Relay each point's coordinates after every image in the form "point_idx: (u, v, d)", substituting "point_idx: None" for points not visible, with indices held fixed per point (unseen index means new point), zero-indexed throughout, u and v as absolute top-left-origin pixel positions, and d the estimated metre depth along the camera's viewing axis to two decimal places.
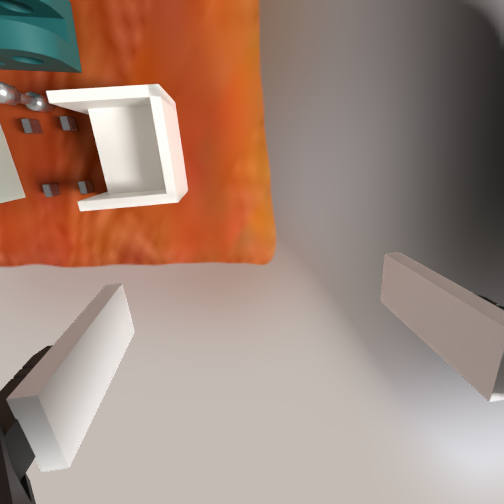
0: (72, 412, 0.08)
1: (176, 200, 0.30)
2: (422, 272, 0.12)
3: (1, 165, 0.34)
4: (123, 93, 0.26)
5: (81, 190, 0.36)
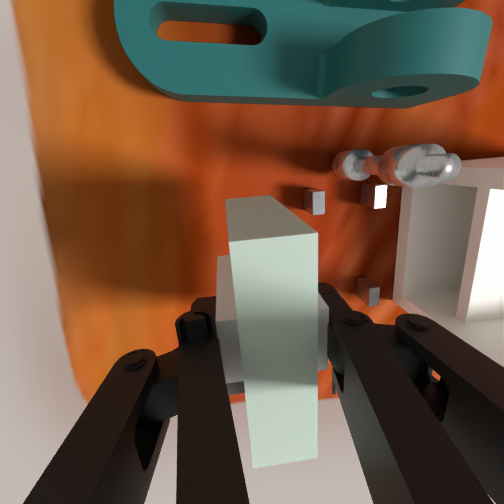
0: None
1: None
2: None
3: None
4: None
5: (371, 301, 0.21)
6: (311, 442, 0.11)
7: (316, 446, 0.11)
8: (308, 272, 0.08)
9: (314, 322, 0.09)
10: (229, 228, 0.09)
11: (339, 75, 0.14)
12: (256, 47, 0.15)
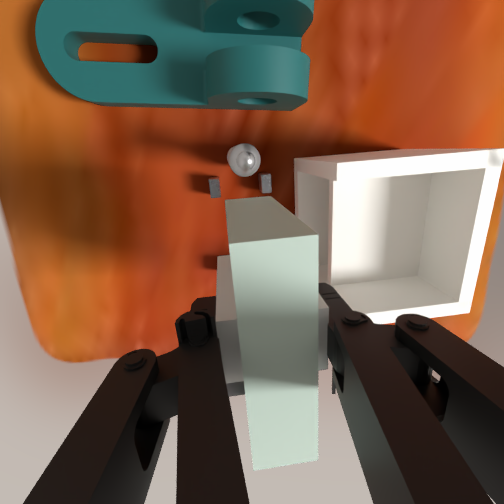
0: None
1: (468, 310, 0.20)
2: None
3: None
4: (449, 163, 0.16)
5: None
6: (312, 444, 0.10)
7: (317, 448, 0.11)
8: (308, 274, 0.08)
9: (314, 324, 0.09)
10: (229, 229, 0.09)
11: (206, 88, 0.19)
12: (150, 65, 0.20)
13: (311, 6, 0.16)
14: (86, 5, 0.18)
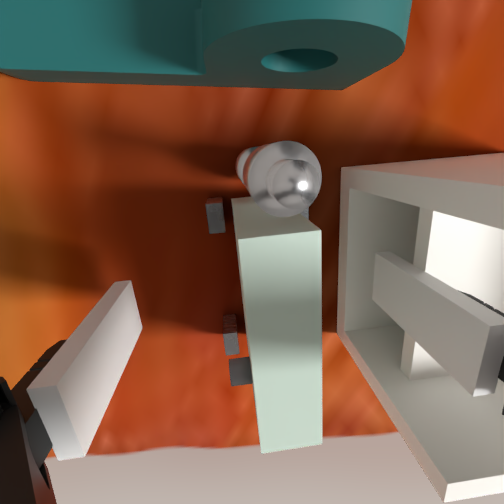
0: (87, 403, 0.09)
1: None
2: (411, 270, 0.12)
3: None
4: None
5: None
6: (316, 429, 0.11)
7: (321, 433, 0.11)
8: (312, 267, 0.09)
9: (318, 314, 0.09)
10: (237, 226, 0.10)
11: None
12: None
13: None
14: None
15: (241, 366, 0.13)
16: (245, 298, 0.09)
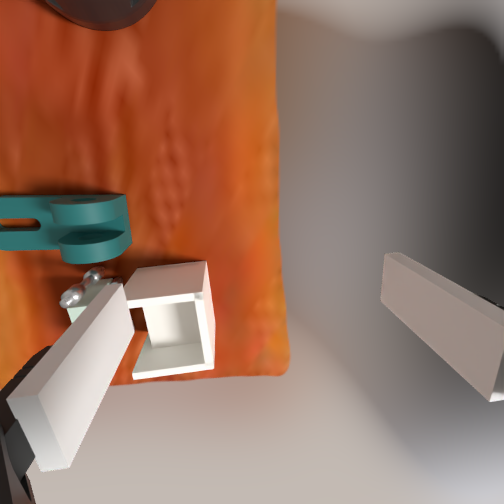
0: (72, 412, 0.08)
1: (212, 367, 0.36)
2: (422, 272, 0.12)
3: None
4: (173, 299, 0.32)
5: None
6: None
7: None
8: None
9: None
10: None
11: None
12: (37, 231, 0.36)
13: (107, 219, 0.32)
14: None
15: None
16: (72, 322, 0.34)
